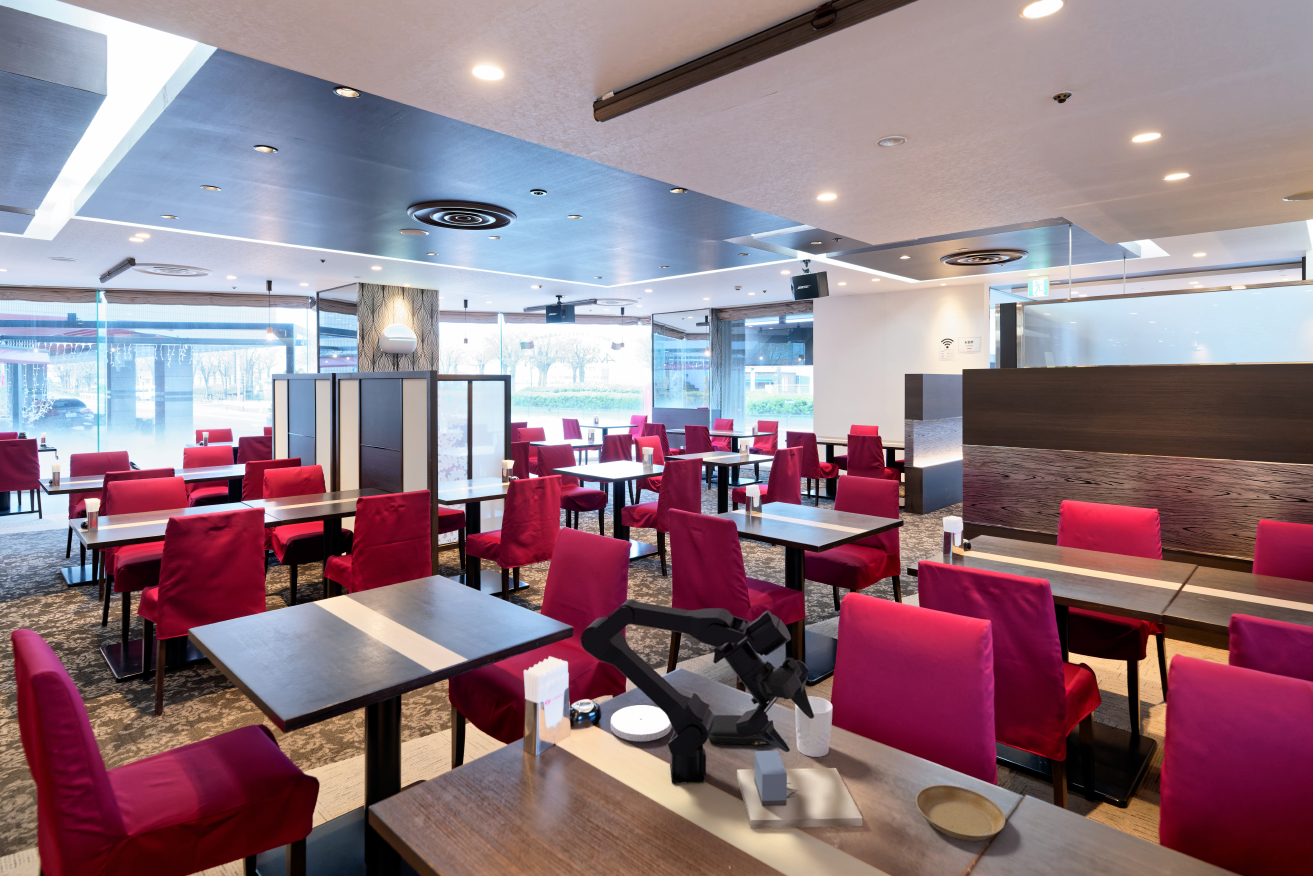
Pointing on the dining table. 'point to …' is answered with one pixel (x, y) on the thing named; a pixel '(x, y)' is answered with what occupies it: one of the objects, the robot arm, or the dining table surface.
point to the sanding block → (770, 778)
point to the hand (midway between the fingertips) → (800, 734)
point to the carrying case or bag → (730, 731)
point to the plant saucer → (960, 812)
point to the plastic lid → (640, 723)
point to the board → (802, 801)
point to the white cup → (814, 728)
